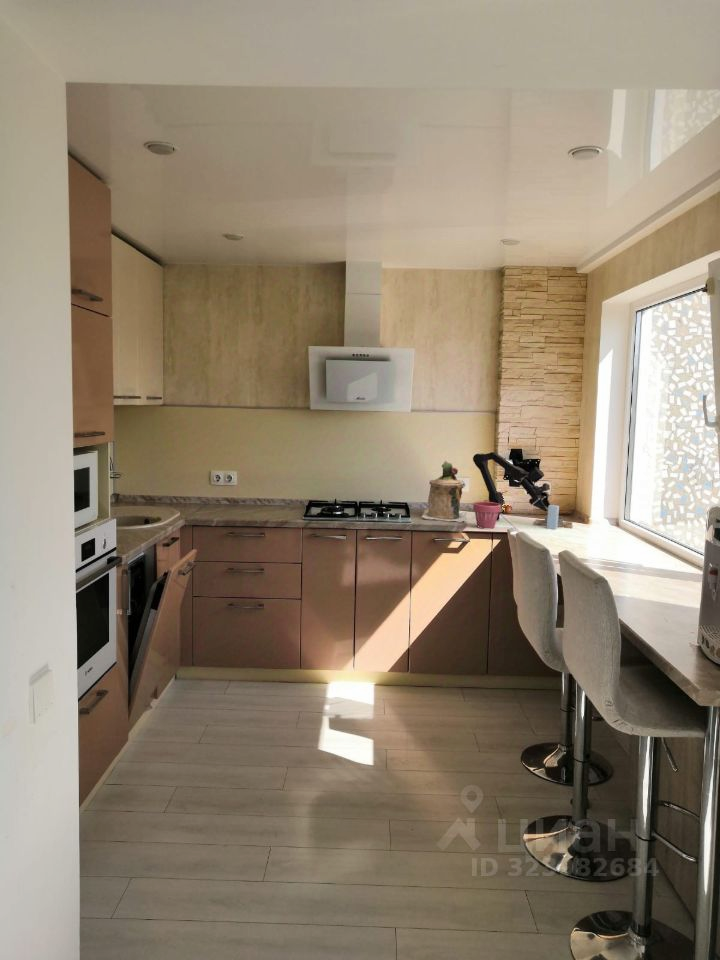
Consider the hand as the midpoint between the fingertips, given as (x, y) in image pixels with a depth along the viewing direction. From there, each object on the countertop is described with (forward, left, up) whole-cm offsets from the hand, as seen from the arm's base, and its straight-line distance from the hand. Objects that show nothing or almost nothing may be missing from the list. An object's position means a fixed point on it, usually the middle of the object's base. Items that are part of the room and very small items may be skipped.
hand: (549, 510), depth 403 cm
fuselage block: (+2, -1, -10) cm, 10 cm away
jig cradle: (+6, +11, -10) cm, 16 cm away
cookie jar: (-54, +19, -10) cm, 58 cm away
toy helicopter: (-19, +44, -10) cm, 49 cm away
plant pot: (-35, -6, -10) cm, 37 cm away
